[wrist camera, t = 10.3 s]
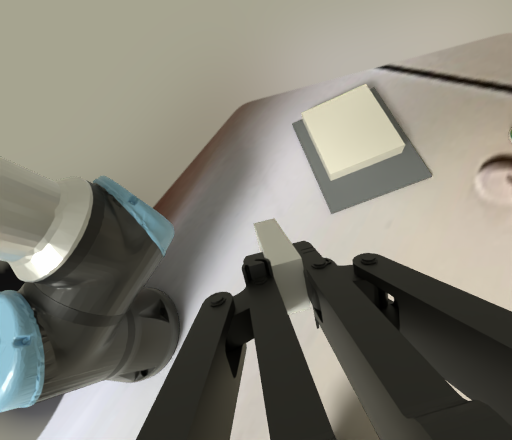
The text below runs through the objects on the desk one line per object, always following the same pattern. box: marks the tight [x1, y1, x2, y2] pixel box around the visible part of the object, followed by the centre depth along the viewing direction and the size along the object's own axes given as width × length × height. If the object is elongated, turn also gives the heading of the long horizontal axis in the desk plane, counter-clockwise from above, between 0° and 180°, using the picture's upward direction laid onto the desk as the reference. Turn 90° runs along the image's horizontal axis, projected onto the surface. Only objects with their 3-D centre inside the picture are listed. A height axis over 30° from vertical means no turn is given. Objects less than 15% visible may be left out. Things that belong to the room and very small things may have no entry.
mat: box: [292, 87, 432, 214], centre depth 44 cm, size 20×16×1 cm
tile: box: [301, 84, 405, 181], centre depth 44 cm, size 2×12×14 cm
